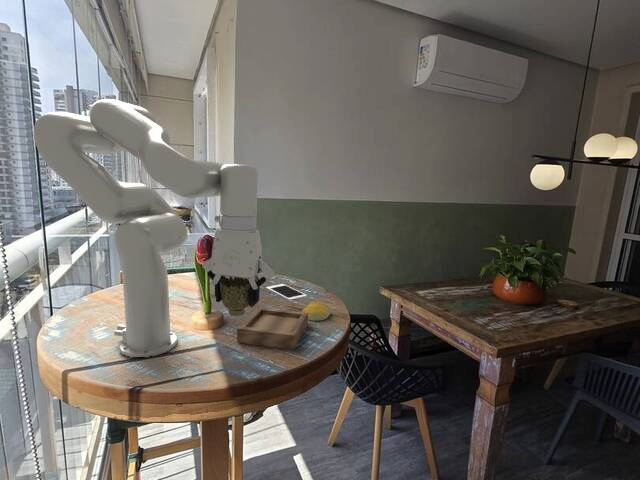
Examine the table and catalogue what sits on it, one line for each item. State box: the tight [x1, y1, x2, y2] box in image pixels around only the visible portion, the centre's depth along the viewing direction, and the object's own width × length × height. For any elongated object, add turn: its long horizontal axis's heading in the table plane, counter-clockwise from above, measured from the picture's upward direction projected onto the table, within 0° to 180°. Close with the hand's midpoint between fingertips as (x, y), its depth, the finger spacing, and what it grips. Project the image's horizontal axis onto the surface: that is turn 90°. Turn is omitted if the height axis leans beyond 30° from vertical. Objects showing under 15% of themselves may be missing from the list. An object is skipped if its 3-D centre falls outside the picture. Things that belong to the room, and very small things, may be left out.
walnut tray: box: [236, 306, 309, 351], centre depth 93 cm, size 15×15×4 cm
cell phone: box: [266, 283, 308, 301], centre depth 128 cm, size 8×16×1 cm, turn 39°
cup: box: [220, 276, 252, 317], centre depth 76 cm, size 8×7×8 cm
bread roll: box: [301, 301, 331, 322], centre depth 106 cm, size 8×9×4 cm
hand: (236, 301), depth 76 cm, fingers closed on cup, 7 cm apart
